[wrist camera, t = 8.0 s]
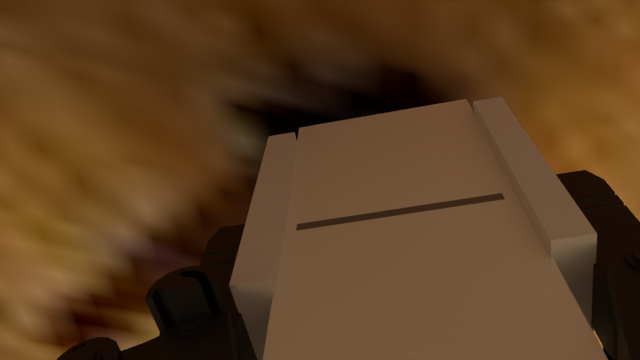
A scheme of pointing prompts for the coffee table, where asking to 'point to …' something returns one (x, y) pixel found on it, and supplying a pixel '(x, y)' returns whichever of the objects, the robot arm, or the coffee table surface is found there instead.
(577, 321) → the domino
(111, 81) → the coffee table surface
